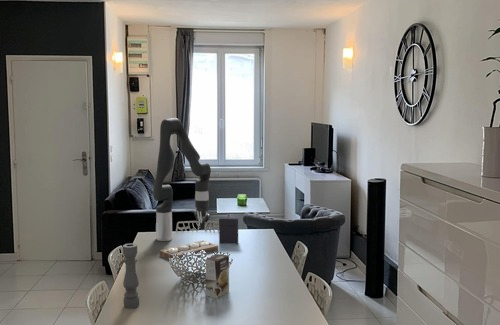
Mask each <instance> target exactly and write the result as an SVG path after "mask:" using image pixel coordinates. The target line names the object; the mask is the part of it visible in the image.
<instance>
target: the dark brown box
mask: <svg viewBox="0 0 500 325" xmlns="http://www.w3.org/2000/svg"><path fill="white" fill-rule="evenodd" d="M218 231H219V232H218V233H219V234H218V235H219V236H218V242H219V244H223V245H238V243H239V218H238V217H219V219H218Z"/></svg>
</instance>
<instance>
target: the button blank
mask: <svg viewBox="0 0 500 325" xmlns="http://www.w3.org/2000/svg"><path fill="white" fill-rule="evenodd" d="M183 245H184V246H181V245H179V246H180V251H186V250H189V246H185V244H183Z"/></svg>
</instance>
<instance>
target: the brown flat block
mask: <svg viewBox="0 0 500 325" xmlns="http://www.w3.org/2000/svg"><path fill="white" fill-rule="evenodd" d="M202 242H208V243H209V245H208V246H201V245H200V243H202ZM192 243H198V244H199V248H195V249H192V248H190V244H192ZM184 245H185V246H189V250H186V251H180V246H184ZM170 248H177V249H178V253H174V254H177V256H178V257H179V258H180V259H181V258H182V257H183V255H182V253H187V252H193V251H195V254H197V253H198V252H200V251H201V250H205V252H206V253H207V254H211V253H214V252H213V251H215V252H218V251H219V245H218V244H215V243H212V242H209V241H205V240H200V241H194V242H190V243H185V244H181V245H177V246H172V247H167V248H163V249H160V250H159V256H160V257H163V258H165V259H167V260H169V258H173V255H174V254H171V253H169V249H170ZM210 252H211V253H210Z"/></svg>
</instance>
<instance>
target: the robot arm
mask: <svg viewBox="0 0 500 325" xmlns="http://www.w3.org/2000/svg"><path fill="white" fill-rule="evenodd" d="M159 127H160V128H159V130H160V131H159V132H160V133H159V148H158V150H159V152H158V159H157V164H156V166H157V168H156V175H155V179H154V180H155V181H154V184H153V190H152V197H153V199H154V201H155V202H162V203H161V204H160V205H157V206H156V208H155V213H156V214H155V215H156V216H155V218H156V223H155V238H156V240H157V241H158V242H168V241H172V240H173V212H172V211H173V198H174V197H173V194H174V192H173V188H172V186H171V185H170V184H163V183H164V181H165V180H166V178H167V176H168V175H169V174H170V172H172V169H173V168H174V165H175V164H174V163H175V153H174V151H173V149H172V147H171V137H172V135H177V137H178V138H179V141H180V145H181V146H180V147H181V152H182V154H183V155H184V157H185V159H186V160H187V161H188V164H189V167H190V169H191V172H192V173H193V174H194V176H196V177H199V179H197V180H196V181H195V186H194V188H195V194H194V207H195V208H196V209H195V211H193V214H194V217H195V219H196V222H198V223H199V227H198V228H199V230H201V231H202V230H205V227H206V226H205V225H206V224H205V223H208V221H209V220H210V218H211V216H212V215H211V214H209V211H208V208H209V206H210V204H209V199H210V198H209V197H210V196H209V195H210V194H209V182H210V177H211V172H212V171H211V170H212V169H211V166H210V164H209V163H208V162H200V161H199V160H201V155H200V154H199V152H198V151H197V149H196V148H195V147H194V145H193V144H192V142H191V140H190V137H189V135H188V133H187V132H186V131H187V130H185V127H184V125H183V123H182V121H181V120H180V119H178V118H177V117H171V118H164V119H163V120H162V121H161V123H160V126H159Z"/></svg>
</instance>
